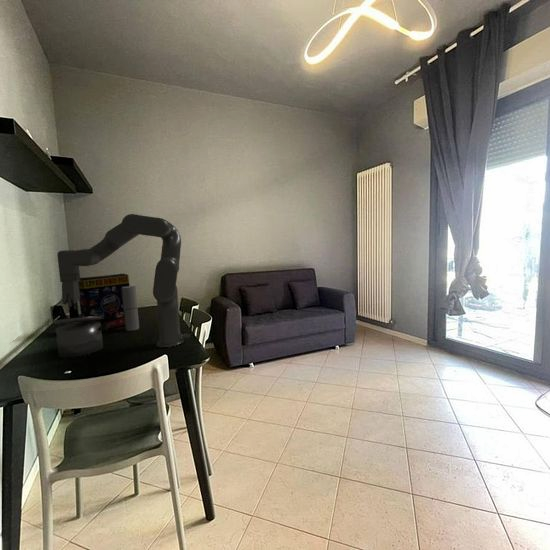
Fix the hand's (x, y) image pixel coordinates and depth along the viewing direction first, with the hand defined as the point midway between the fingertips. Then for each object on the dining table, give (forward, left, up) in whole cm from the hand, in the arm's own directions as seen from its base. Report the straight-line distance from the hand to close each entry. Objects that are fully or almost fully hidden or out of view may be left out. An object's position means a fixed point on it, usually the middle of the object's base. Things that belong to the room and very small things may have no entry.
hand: (74, 317), depth 140 cm
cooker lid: (0, -5, -3) cm, 6 cm away
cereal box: (-6, -47, -17) cm, 50 cm away
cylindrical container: (-20, -35, -17) cm, 44 cm away
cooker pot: (0, -5, -17) cm, 18 cm away
